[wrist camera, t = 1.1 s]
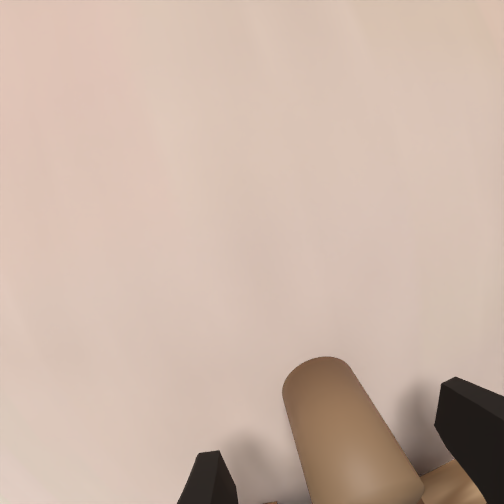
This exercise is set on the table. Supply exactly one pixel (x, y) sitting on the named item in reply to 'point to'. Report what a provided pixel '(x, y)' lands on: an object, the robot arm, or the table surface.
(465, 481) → the oak block
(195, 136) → the table surface
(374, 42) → the table surface
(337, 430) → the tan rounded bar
